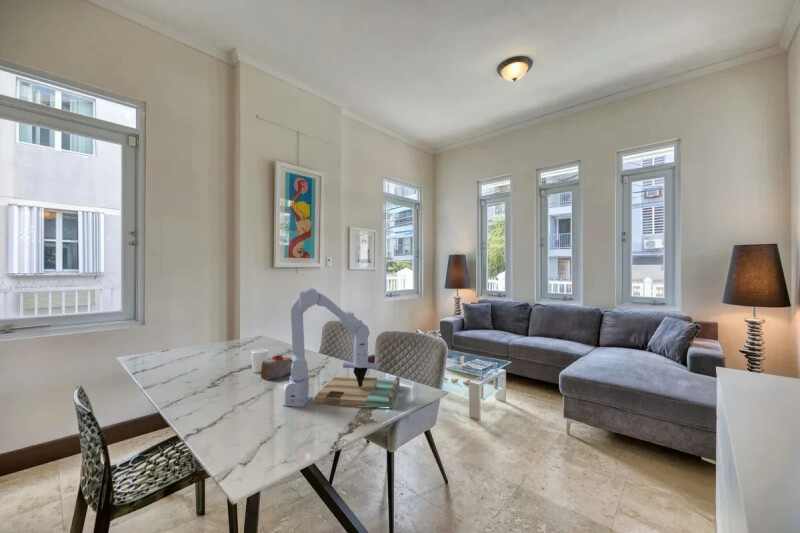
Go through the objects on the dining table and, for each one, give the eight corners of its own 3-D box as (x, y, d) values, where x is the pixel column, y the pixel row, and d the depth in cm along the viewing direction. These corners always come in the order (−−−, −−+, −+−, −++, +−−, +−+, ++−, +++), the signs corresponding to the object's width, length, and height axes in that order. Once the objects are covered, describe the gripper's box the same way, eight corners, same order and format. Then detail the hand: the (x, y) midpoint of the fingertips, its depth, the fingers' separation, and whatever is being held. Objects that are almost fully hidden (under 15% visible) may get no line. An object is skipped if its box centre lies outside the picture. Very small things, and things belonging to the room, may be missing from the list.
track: (391, 409, 121) (391, 397, 121) (314, 404, 124) (314, 392, 124) (399, 385, 145) (399, 376, 145) (334, 382, 148) (334, 372, 148)
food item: (285, 371, 163) (286, 351, 164) (294, 374, 158) (295, 354, 158) (259, 378, 153) (259, 357, 153) (268, 381, 148) (268, 360, 148)
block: (374, 391, 131) (374, 381, 131) (362, 390, 132) (362, 380, 132) (376, 386, 136) (377, 377, 136) (365, 386, 137) (365, 376, 137)
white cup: (263, 373, 159) (264, 352, 159) (247, 373, 159) (248, 352, 159) (270, 368, 167) (270, 348, 167) (255, 368, 167) (255, 348, 167)
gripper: (379, 351, 138) (379, 383, 138) (346, 349, 139) (346, 381, 139) (376, 355, 131) (376, 389, 131) (341, 354, 132) (341, 387, 132)
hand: (360, 385), depth 135 cm, fingers closed
